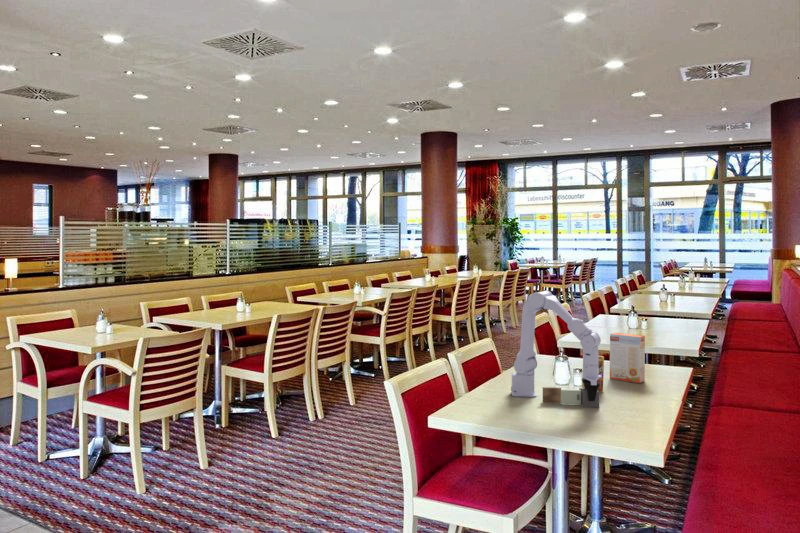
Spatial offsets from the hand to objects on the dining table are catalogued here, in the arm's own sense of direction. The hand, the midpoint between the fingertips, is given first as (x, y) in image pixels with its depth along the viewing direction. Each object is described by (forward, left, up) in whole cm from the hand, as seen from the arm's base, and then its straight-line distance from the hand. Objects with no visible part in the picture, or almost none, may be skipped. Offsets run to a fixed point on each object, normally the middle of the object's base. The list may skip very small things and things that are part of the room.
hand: (590, 399), depth 234 cm
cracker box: (+23, +44, -3) cm, 50 cm away
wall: (-10, +3, -3) cm, 11 cm away
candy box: (+4, +20, -3) cm, 21 cm away
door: (-7, +1, -3) cm, 8 cm away
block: (0, 0, -3) cm, 3 cm away
